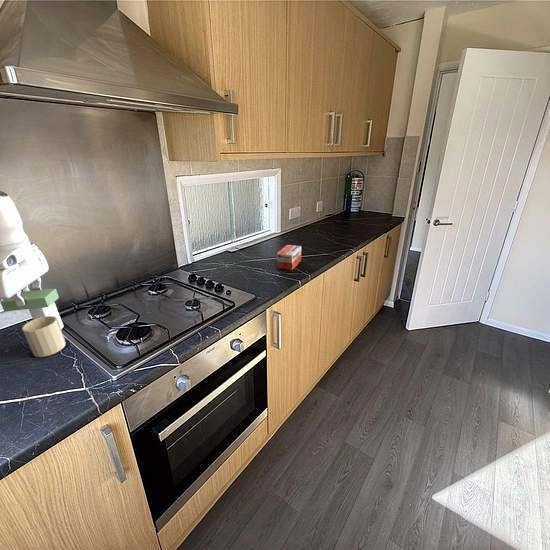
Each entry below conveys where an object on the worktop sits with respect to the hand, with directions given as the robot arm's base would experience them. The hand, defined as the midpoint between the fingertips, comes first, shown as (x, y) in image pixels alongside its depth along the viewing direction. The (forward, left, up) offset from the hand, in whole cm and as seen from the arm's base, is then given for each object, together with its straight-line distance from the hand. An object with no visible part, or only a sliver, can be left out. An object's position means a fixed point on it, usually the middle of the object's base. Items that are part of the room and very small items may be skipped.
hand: (30, 298), depth 83 cm
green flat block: (0, 0, -2) cm, 2 cm away
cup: (0, 0, -17) cm, 17 cm away
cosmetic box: (-4, +9, -17) cm, 20 cm away
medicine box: (+86, +51, -17) cm, 102 cm away
